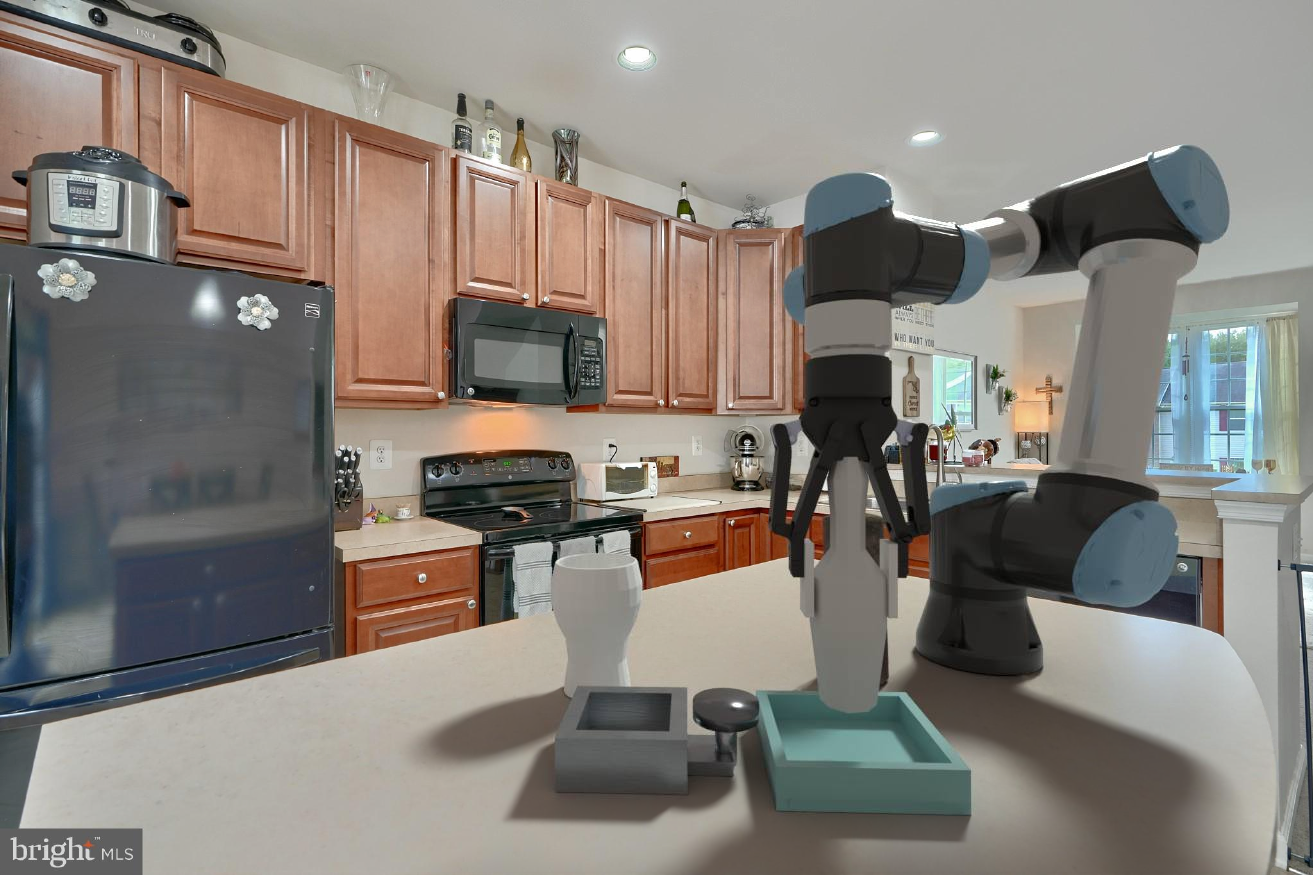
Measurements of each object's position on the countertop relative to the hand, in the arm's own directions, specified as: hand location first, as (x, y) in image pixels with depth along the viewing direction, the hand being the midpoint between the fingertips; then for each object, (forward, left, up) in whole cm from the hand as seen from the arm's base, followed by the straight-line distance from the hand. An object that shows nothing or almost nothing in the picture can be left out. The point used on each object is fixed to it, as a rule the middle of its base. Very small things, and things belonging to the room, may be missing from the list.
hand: (847, 613), depth 58 cm
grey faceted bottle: (0, 0, -8) cm, 8 cm away
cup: (+25, -16, -14) cm, 33 cm away
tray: (0, 0, -14) cm, 14 cm away
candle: (-6, -21, -14) cm, 26 cm away
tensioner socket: (+17, 0, -14) cm, 21 cm away
